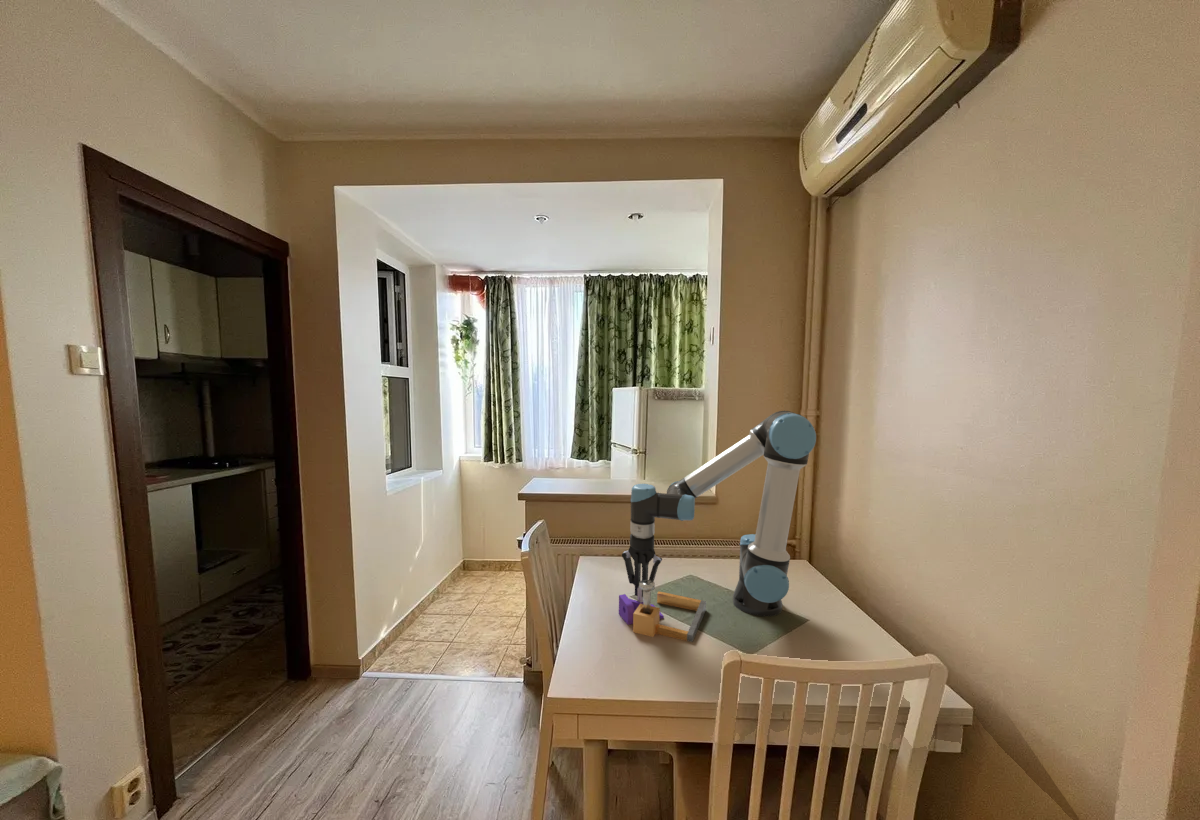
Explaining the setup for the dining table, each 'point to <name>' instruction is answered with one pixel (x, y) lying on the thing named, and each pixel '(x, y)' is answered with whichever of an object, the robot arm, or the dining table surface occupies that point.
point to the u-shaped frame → (687, 604)
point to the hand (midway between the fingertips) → (640, 605)
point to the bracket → (629, 608)
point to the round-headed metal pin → (647, 594)
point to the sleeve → (646, 621)
